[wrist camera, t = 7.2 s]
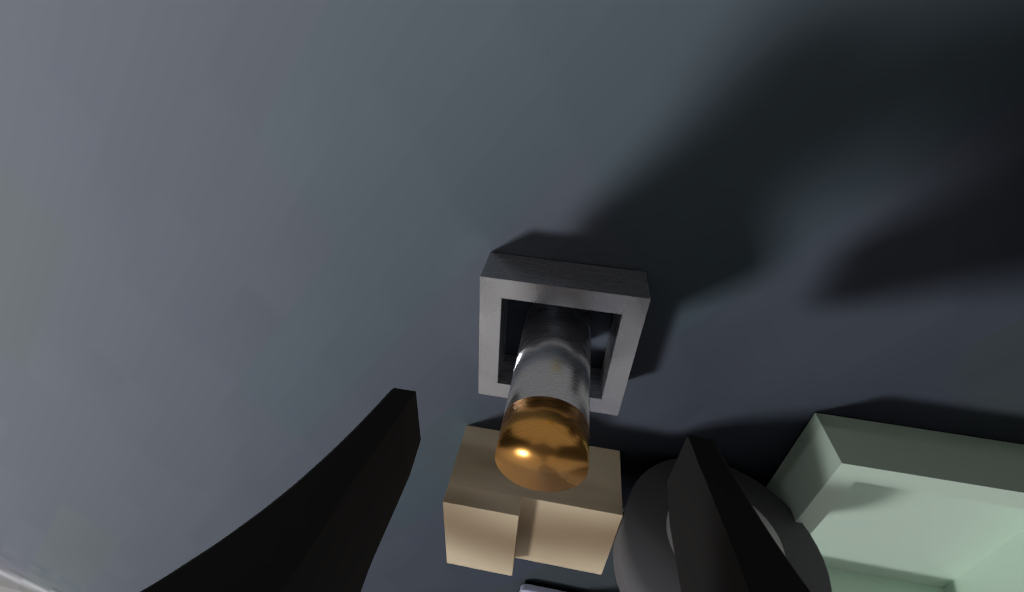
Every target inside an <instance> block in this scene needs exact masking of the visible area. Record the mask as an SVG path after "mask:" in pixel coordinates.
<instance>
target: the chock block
mask: <svg viewBox="0 0 1024 592" xmlns="http://www.w3.org/2000/svg"><path fill="white" fill-rule="evenodd" d="M499 434H500V431H498V430H492V429H486V428H480V427H474V426H468V425H467V426H466V429H465V433H464V436H463V439H462V442H461V445H460V449H459V452H458V455H457V458H456V462H455V465H454V468H453V471H452V474H451V478H450V481H449V484H448V487H447V491H446V494H445V497H444V500H443V509H444V524H445V539H446V554H447V563H451V564H456V565H461V566H466V567H471V568H475V569H480V570H485V571H490V572H495V573H500V574H505V575H510V576H512V571H513V565H514V558H520V559H525V560H530V561H535V562H540V563H545V564H550V565H555V566H560V567H565V568H570V569H576V570H581V571H586V572H591V573H596V574H602V571H603V568H604V566H605V563H606V560H607V557H608V555H609V552H610V549H611V546H612V544H613V541H614V538H615V535H616V533H617V530H618V527H619V524H620V522H621V519H622V516H623V510H622V489H621V469H620V451H617V450H611V449H605V448H599V447H593V446H589V469H588V474H587V476H586V478H585V479H584V480H583V481H582V482H581V483H580V484H579V485H577V486H575V487H573V488H571V489H568V490H565V491H559V492H541V491H535V490H531V489H528V488H525V487H522V486H520V485H518V484H515V483H514V482H512V481H511V480H509V479H508V478H506V477H505V476H504V475H503V474H502V473H501V471H500V470H499V469H498V467H497V465H496V461H495V452H496V448H497V443H498V439H499Z"/></svg>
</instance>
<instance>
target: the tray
mask: <svg viewBox="0 0 1024 592" xmlns="http://www.w3.org/2000/svg"><path fill="white" fill-rule="evenodd" d="M766 488H767V489H769V490H770V491H771V492H773V493H774V494H775V495H776V496H777V497H778V498H780V499H781V500H782V501H783V502H784V503H785V504H786V505H787V506H788V507H789V508H790V509H791V511H792V514H793V516H794V519H795V522H799V523H803V525H804V526H805V527H806V529H807V530H808V532H809V533H810V535H811V536H812V538H813V540H814V541H815V543H816V545H817V546H818V549H819V551H820V553H821V555H822V557H823V559H824V562H825V565H826V568H827V571H828V574H829V578H830V583H831V588H832V592H1024V445H1023V444H1017V443H1010V442H1004V441H997V440H991V439H984V438H977V437H971V436H964V435H958V434H951V433H945V432H938V431H931V430H925V429H918V428H912V427H905V426H899V425H892V424H886V423H879V422H872V421H866V420H859V419H853V418H846V417H840V416H833V415H827V414H820V413H815V414H814V415H813V417H812V418H811V420H810V421H809V423H808V424H807V426H806V427H805V429H804V430H803V432H802V433H801V435H800V436H799V438H798V439H797V441H796V442H795V444H794V445H793V447H792V448H791V450H790V451H789V453H788V455H787V456H786V458H785V459H784V461H783V462H782V464H781V465H780V467H779V468H778V470H777V471H776V473H775V474H774V476H773V477H772V479H771V480H770V482H769V483H768V485H767V486H766Z"/></svg>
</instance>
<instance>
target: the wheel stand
mask: <svg viewBox="0 0 1024 592" xmlns="http://www.w3.org/2000/svg"><path fill="white" fill-rule="evenodd" d="M676 461H677V459H672V460H668V461H664V462H661V463H659V464H657V465H655V466H653V467H651V468H650V469H648V470H647V471H646V472H645V473H644V474H643V475H641V476H640V478H639V479H638V480H637V482H636V483H635V485H634V486H633V488H632V490H631V492H630V495H629V498H628V501H627V503H626V506H625V509H624V512H623V516H622V519H621V522H620V524H619V527H618V530H617V533H616V535H615V539H614V545H613V563H614V571H615V576H616V581H617V584H618V587H619V590H620V592H681V587H680V582H679V576H678V570H677V565H676V559H675V553H674V547H673V541H672V536H671V530H670V523H669V509H668V491H667V481H668V479H669V477H670V474H671V472H672V470H673V467H674V465H675V463H676ZM729 468H730V470H731V471H732V473H733V475H734V476H735V478H736V480H737V482H738V483H739V485H740V487H741V488H742V490H743V491H744V493H745V495H746V496H747V498H748V500H749V501H750V503H751V505H752V506H753V508H754V509H755V511H756V512H757V514H758V516H759V517H760V519H761V520H762V522H763V523H764V525H765V526H766V528H767V529H768V531H769V533H770V534H771V536H772V537H773V539H774V540H775V542H776V543H777V545H778V546H779V548H780V549H781V550H782V552H783V553H784V555H785V556H786V558H787V559H788V561H789V562H790V563H791V565H792V566H793V568H794V569H795V570H796V572H797V573H798V575H799V576H800V577H801V579H802V580H803V582H804V583H805V584H806V586H807V587H808V588H809V590H810V591H811V592H832V588H831V583H830V578H829V574H828V571H827V568H826V565H825V562H824V559H823V557H822V555H821V553H820V551H819V549H818V546H817V545H816V543H815V541H814V540H813V538H812V536H811V535H810V533H809V532H808V530H807V529H806V527H805V526H804V525H803V523H799V522H795V519H794V516H793V514H792V511H791V509H790V508H789V507H788V506H787V505H786V504H785V503H784V502H783V501H782V500H781V499H780V498H778V497H777V496H776V495H775V494H774V493H773V492H771V491H770V490H769V489H767V488H766V487H765V486H763V485H762V484H761V483H759V482H758V481H756V480H754V479H753V478H751V477H750V476H748V475H746V474H744V473H742V472H740V471H738V470H736V469H734V468H731V467H729Z"/></svg>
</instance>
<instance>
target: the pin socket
mask: <svg viewBox="0 0 1024 592" xmlns="http://www.w3.org/2000/svg"><path fill="white" fill-rule="evenodd" d="M508 299H512V300H520V301H527V302H534V303H542V304H549V305H556V306H564V307H571V308H578V309H586V310H593V311H600V312H608V313H614V316H613V320H612V325H611V329H610V333H609V338H608V342H607V346H606V351H605V355H604V359H603V364H602V368H601V369H600V368H593V367H590V411H592V412H598V413H604V414H610V415H617V416H618V413H619V409H620V406H621V402H622V399H623V395H624V392H625V388H626V385H627V381H628V378H629V374H630V371H631V367H632V363H633V360H634V356H635V353H636V349H637V346H638V342H639V339H640V335H641V332H642V328H643V325H644V321H645V318H646V314H647V311H648V307H649V303H650V300H651V297H650V292H649V286H648V281H647V275H646V272H643V271H635V270H627V269H619V268H611V267H603V266H595V265H587V264H579V263H571V262H564V261H556V260H548V259H540V258H532V257H524V256H516V255H508V254H500V253H492V252H490V255H489V257H488V259H487V262H486V264H485V266H484V269H483V271H482V273H481V276H480V325H479V394H485V395H492V396H498V397H504V398H508V395H509V390H510V386H511V381H512V377H513V372H514V368H515V363H516V359H517V356H513V355H506V354H505V345H506V328H507V311H508Z"/></svg>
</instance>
